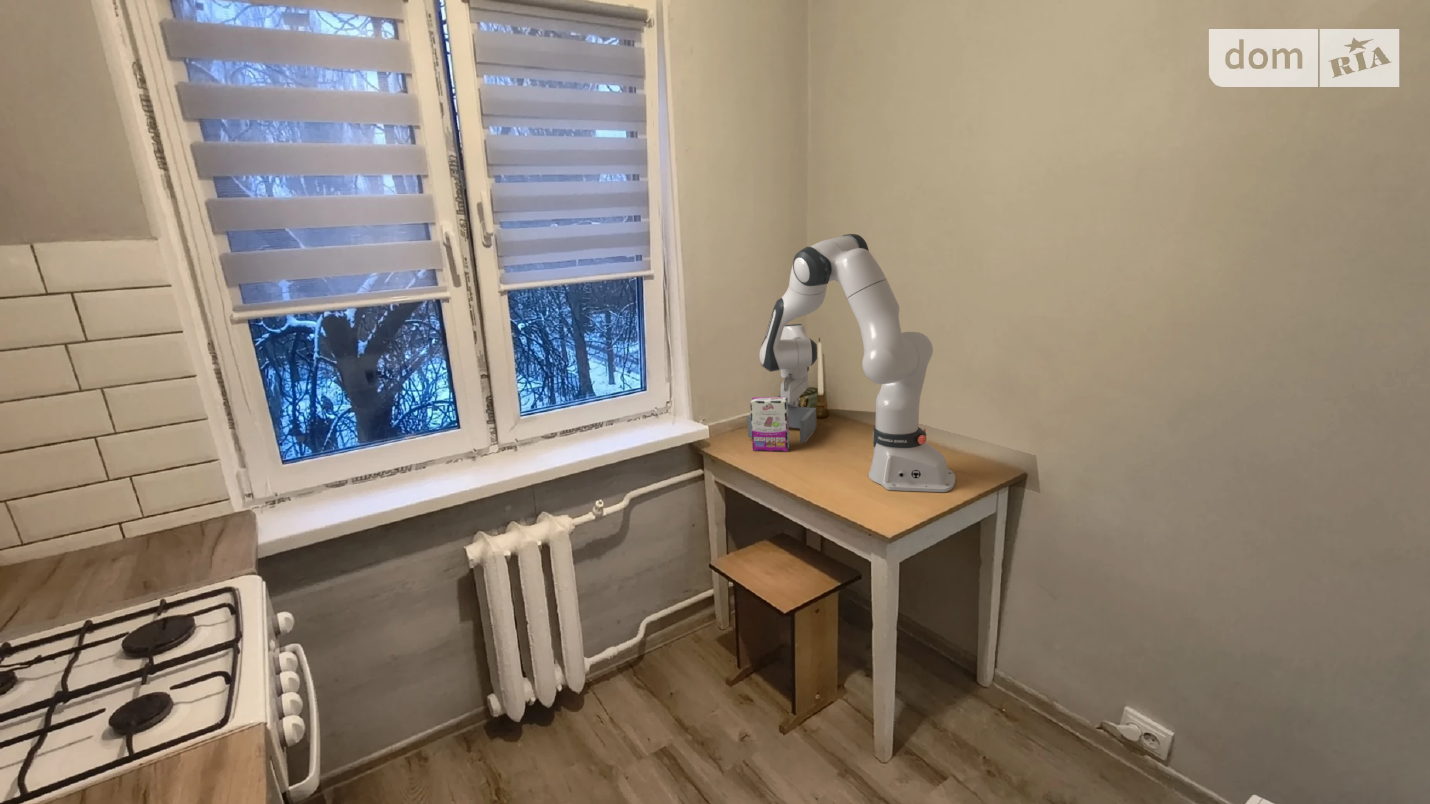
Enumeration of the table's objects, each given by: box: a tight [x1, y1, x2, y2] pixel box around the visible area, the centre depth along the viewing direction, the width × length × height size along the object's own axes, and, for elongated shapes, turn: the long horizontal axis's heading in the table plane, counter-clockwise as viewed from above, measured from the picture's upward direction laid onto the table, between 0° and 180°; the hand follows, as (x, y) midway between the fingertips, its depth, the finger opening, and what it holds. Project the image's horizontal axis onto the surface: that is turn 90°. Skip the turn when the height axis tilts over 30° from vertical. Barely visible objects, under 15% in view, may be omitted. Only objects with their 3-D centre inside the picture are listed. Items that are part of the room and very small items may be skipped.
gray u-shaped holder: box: [746, 405, 817, 443], centre depth 208 cm, size 19×14×8 cm
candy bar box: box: [750, 396, 790, 453], centre depth 197 cm, size 11×5×16 cm, turn 77°
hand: (794, 409), depth 220 cm, fingers closed
